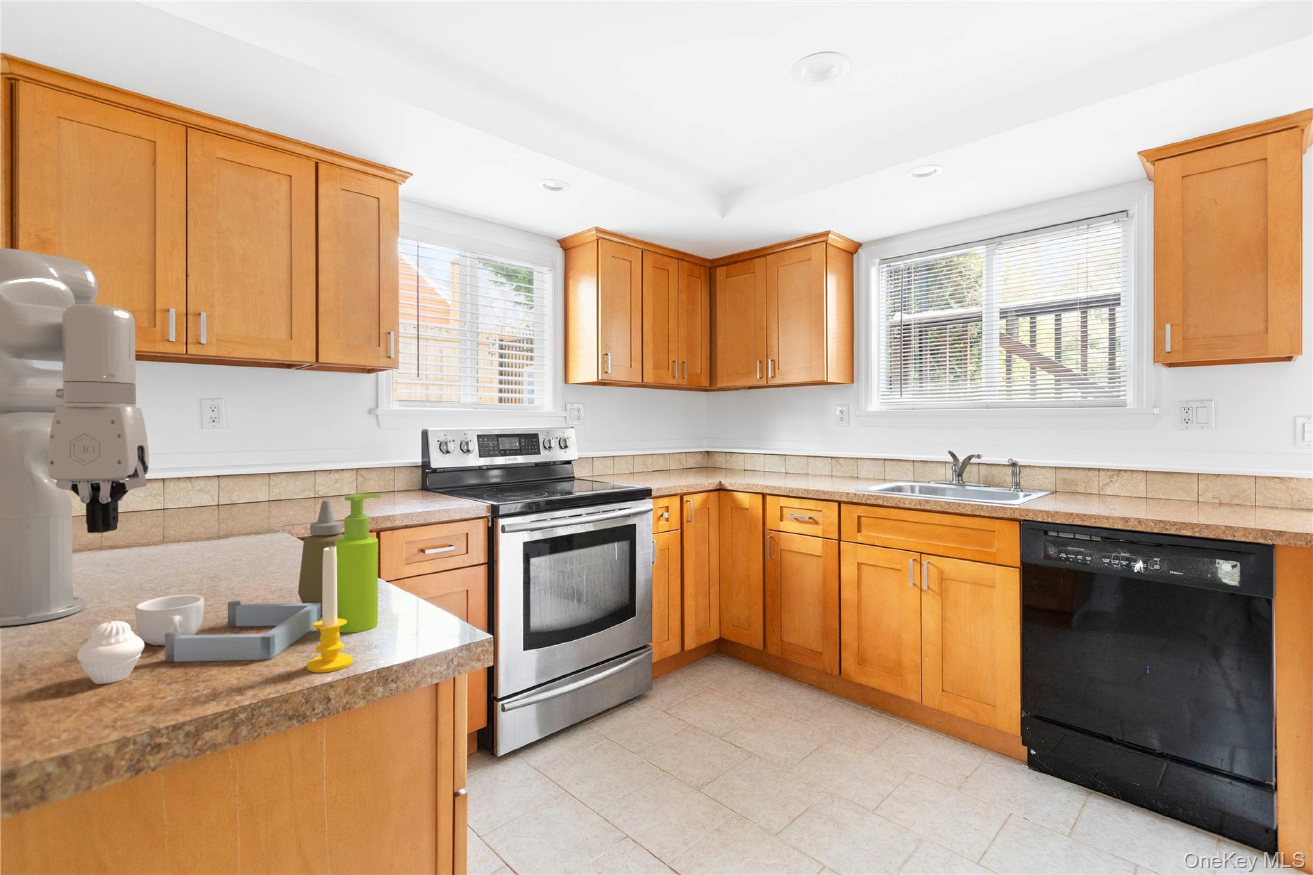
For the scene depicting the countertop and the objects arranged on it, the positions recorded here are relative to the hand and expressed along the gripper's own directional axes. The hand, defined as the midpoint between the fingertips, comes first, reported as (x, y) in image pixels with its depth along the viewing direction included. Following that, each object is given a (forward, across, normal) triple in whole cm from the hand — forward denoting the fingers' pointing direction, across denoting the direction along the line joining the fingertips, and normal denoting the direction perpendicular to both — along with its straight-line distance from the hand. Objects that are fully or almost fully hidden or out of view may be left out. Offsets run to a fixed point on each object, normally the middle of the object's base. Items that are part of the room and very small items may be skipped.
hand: (102, 531), depth 88 cm
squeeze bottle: (+16, +23, +14) cm, 32 cm away
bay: (+16, +18, 0) cm, 24 cm away
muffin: (+16, +10, -12) cm, 22 cm away
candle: (+16, +33, -10) cm, 38 cm away
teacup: (+16, +8, 0) cm, 18 cm away
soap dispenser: (+16, +31, +6) cm, 36 cm away
